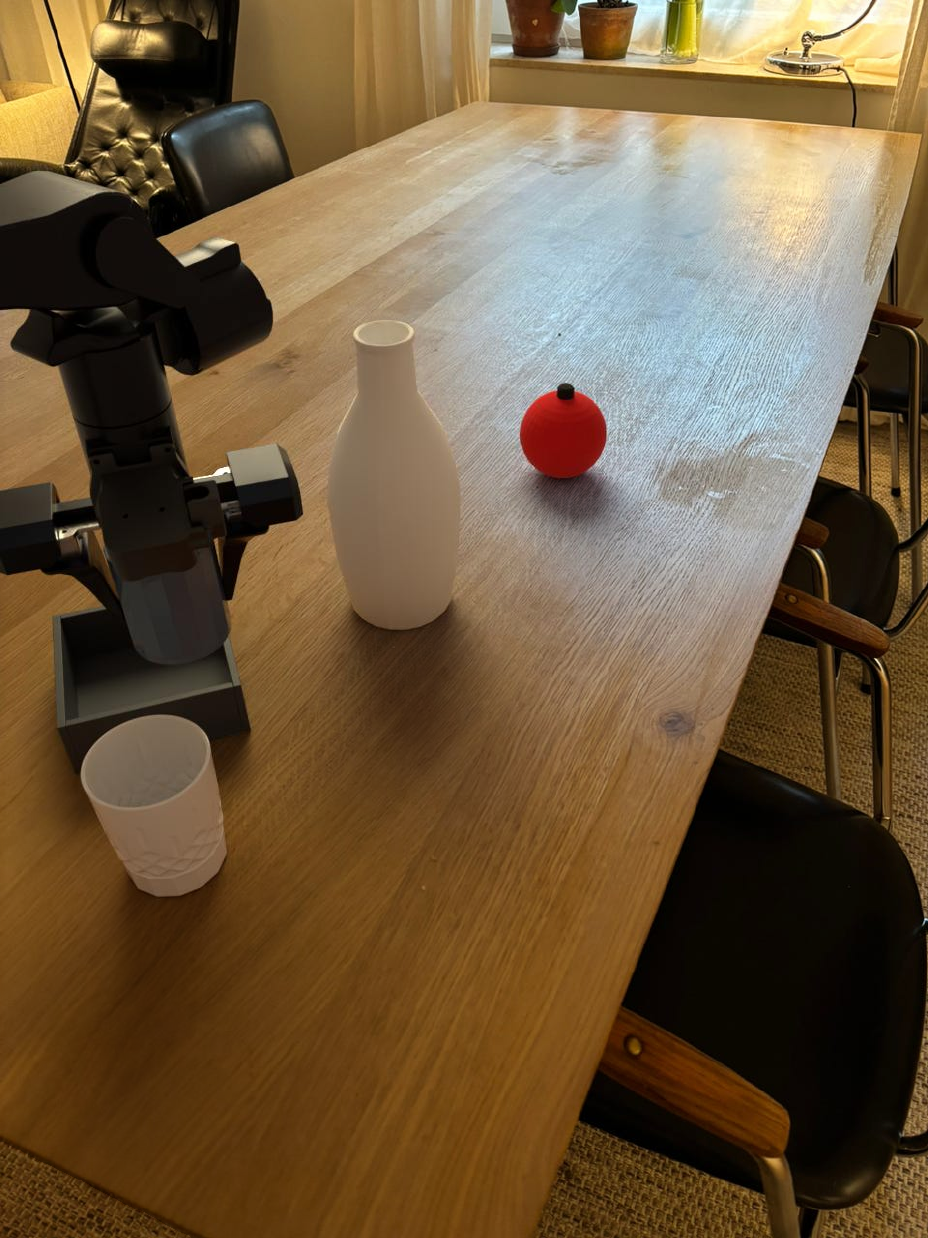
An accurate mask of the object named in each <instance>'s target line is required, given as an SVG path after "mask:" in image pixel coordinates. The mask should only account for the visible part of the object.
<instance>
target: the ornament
mask: <svg viewBox="0 0 928 1238" xmlns="http://www.w3.org/2000/svg"><path fill="white" fill-rule="evenodd" d="M575 389H576V388H575V386H574V385H573V384H572V383H568V382H563V383H560V384H559V385H558V386H557V387H556V390H552V391H549V392H546V393H544V394H542V395H540V396H539V397H538V398H536V399H535V400H534V401H533V402H532V403H531V404H530V405H529V407H527V409H526V411H525V413H524V415H523V417H522V419H521V422H520V426H519V427H520V429H519V442H520V447H521V449H522V453H523V455H524V457H525V458H526V460H527V461H528V463H529V464H530V465H531V466H532V467H533V468H534V469H536V471H538V472H540V473H541V474H543V475H545V476H548V477H551V478H556V479H569V478H574V477H577V476H580V475H582V474H584V473H586V472H587V471H589V470H590V469H591V468H592V467H593V466H595V464H596V463H597V462H598V460H599V459H600V458H601V457H602V454H603V452H604V450H605V447H606V444H607V440H608V432H607V431H608V429H607V428H608V427H607V422H606V419H605V418H606V417H605V416H604V414H603V412H602V410H601V408H600V407H599V406H598V405H597V404H596V402H595V401H594V400H593V399H592V398H591V397H588V396H587V395H585V394H583V393H582V392H579V391H576V390H575Z"/></svg>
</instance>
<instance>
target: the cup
mask: <svg viewBox="0 0 928 1238" xmlns="http://www.w3.org/2000/svg"><path fill="white" fill-rule="evenodd" d="M213 545H214V547H210V548H209V547H208V548H204V549H199V550H198V556H199V557H198V562H197V563H196V565H195V566H194V567H193V568H191V569H190V570H188V571H184V572H179V573H176V572H169V573H164V574H159V575H154V576H149V577H145V578H143V579H142V580H138V581H132V582H129V581H124V580H122V579H120V578H119V577H118V576H117V575H116V573H115V570H114V568H113V565H112V562H111V560H110V557H109V555H108V552H107V549H106V547H105V544H103V548H102V549H103V550H102V551H103V555H104V558H105V560H106V562H107V565H108V567H109V570H110V573H111V576H112V579H113V582H114V586H115V589H116V592H117V595H118V599H119V602H120V605H121V608H122V611H123V614H124V618H125V621H126V624H127V628H128V631H129V634H130V637H131V640H132V643H133V646H134V648H135V650H136V651H137V653H138V654H139V655H141V656H142V657H143V658H145V659H147V660H149V661H151V662H154V663H159V664H167V665H176V664H184V663H189V662H193V661H196V660H199V659H201V658H204V657H206V656H208V655H209V654H211V653H213V652H214V651H216V650H217V649H218V648H219V647H220V646H222V644H223V643H224V642H225V641H226V639H227V638H228V636H229V637H230V634H231V631H232V621H231V620H232V618H231V617H232V616H231V611H230V607H229V603H228V602H229V601H227V600H226V596H225V592H224V587H223V579H222V575H221V570H220V563H219V555H218V553H217V548H216V544H215V539H214V540H213Z"/></svg>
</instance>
